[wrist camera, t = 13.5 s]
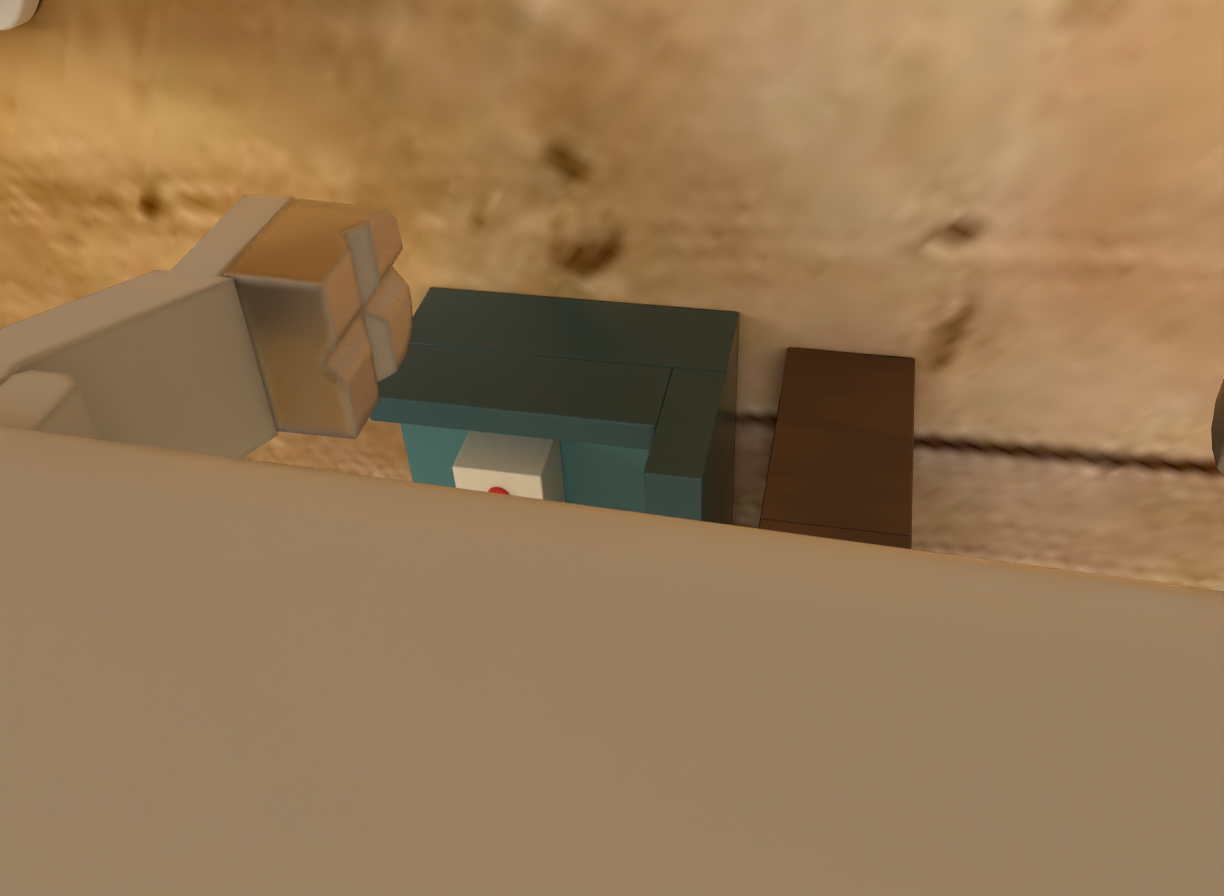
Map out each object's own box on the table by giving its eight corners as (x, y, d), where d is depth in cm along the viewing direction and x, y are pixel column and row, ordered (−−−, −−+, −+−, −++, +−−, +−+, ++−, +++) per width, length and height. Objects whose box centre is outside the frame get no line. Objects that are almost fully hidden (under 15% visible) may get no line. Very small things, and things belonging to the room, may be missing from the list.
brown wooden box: (770, 582, 55) (743, 778, 47) (787, 347, 46) (756, 539, 37) (876, 596, 54) (866, 797, 46) (915, 358, 45) (911, 557, 37)
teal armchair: (478, 566, 58) (413, 725, 51) (430, 286, 47) (337, 438, 40) (729, 598, 56) (698, 770, 49) (739, 312, 45) (702, 479, 38)
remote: (504, 619, 52) (485, 671, 50) (473, 420, 45) (449, 470, 42) (578, 629, 52) (562, 682, 50) (559, 429, 44) (539, 480, 42)
